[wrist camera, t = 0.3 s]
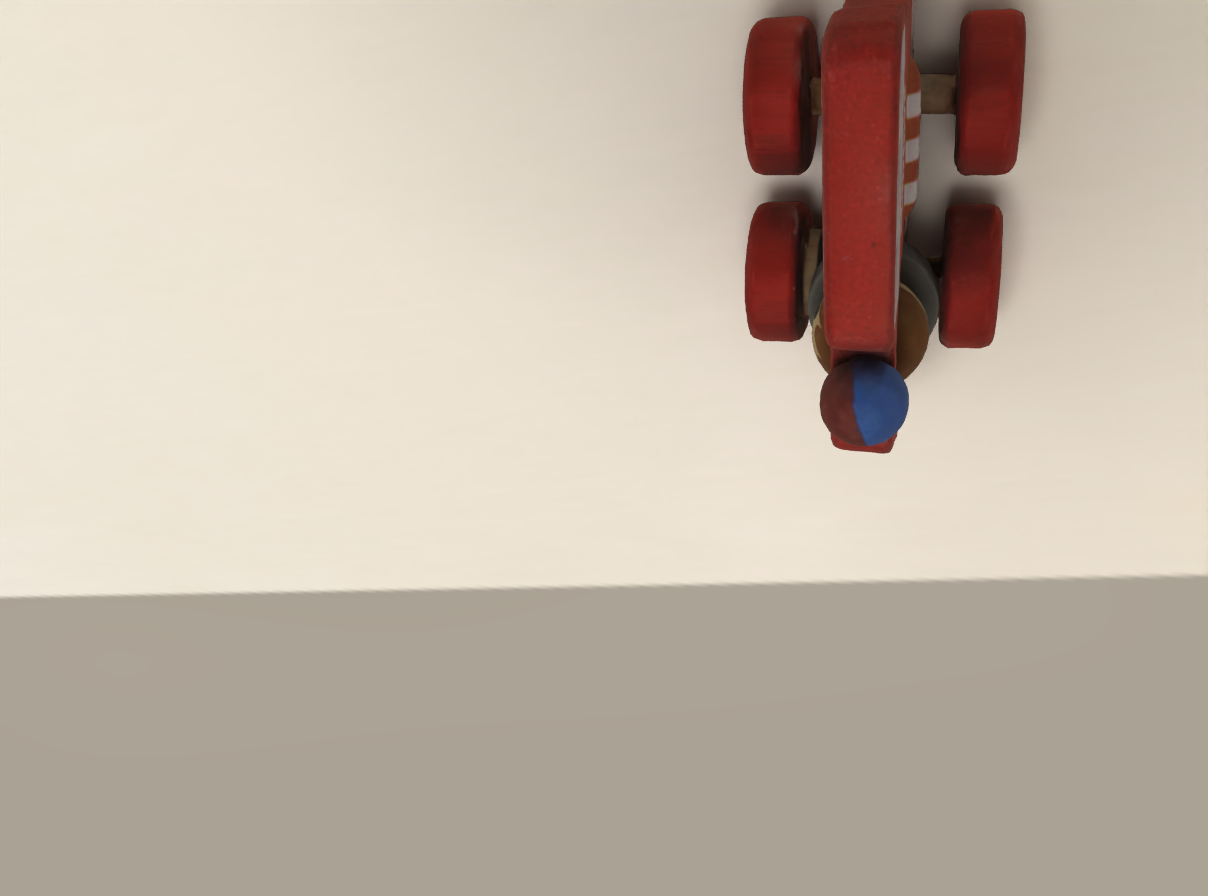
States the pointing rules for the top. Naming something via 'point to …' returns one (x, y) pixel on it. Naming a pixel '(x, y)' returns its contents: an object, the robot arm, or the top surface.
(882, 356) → the toy fire truck
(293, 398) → the top surface
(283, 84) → the top surface
